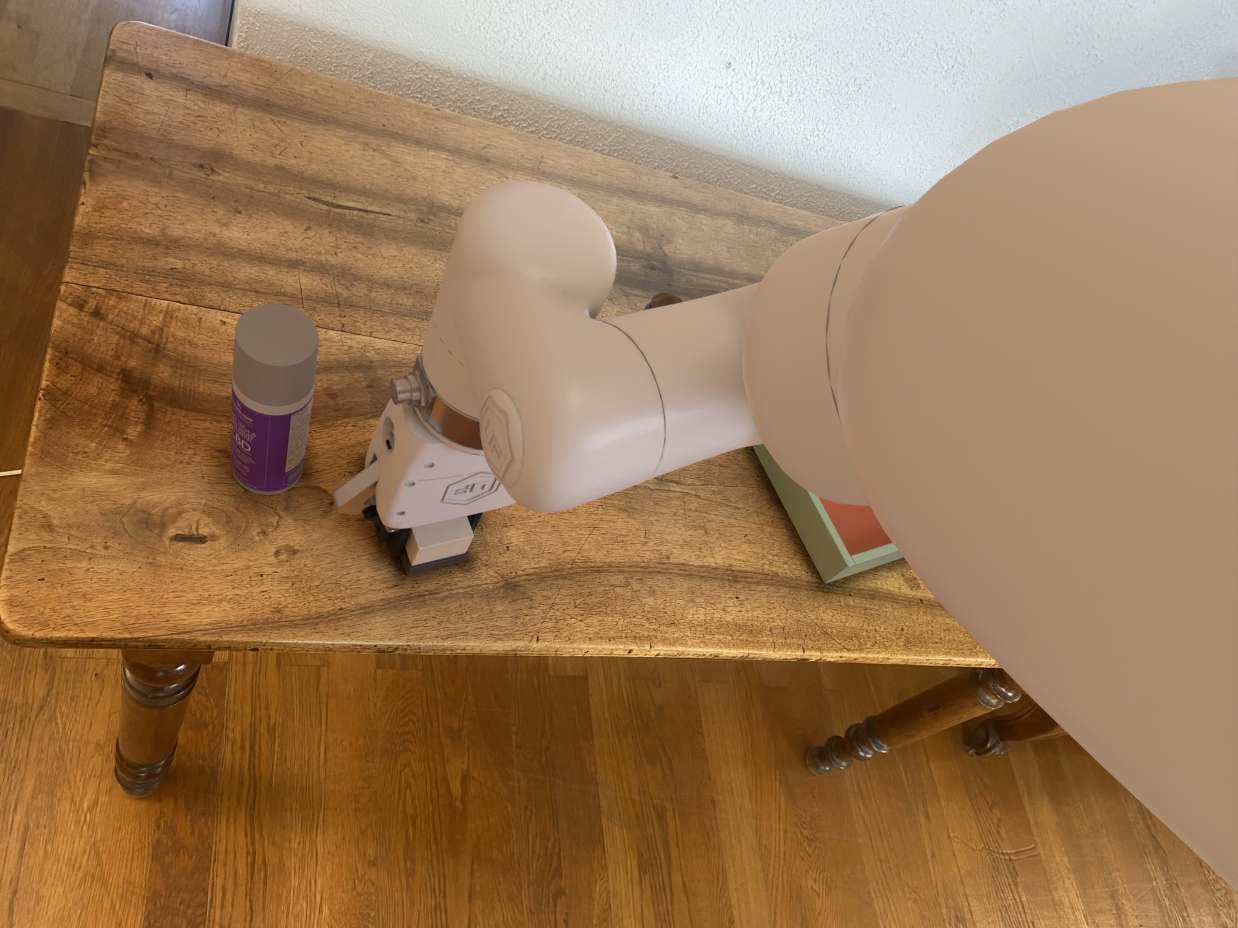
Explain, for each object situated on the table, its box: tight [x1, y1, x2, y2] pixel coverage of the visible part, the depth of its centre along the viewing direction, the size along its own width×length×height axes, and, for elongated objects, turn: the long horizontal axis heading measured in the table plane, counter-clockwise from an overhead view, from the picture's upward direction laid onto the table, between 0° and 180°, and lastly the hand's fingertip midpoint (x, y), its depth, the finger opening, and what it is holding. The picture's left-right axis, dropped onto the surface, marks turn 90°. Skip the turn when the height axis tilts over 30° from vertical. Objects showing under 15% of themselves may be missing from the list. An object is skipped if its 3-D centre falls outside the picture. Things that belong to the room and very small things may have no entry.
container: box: [230, 303, 320, 496], centre depth 55 cm, size 5×5×15 cm
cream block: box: [399, 516, 475, 577], centre depth 62 cm, size 9×4×4 cm, turn 24°
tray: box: [751, 444, 904, 584], centre depth 81 cm, size 14×26×4 cm, turn 24°
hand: (425, 528), depth 63 cm, fingers closed on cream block, 4 cm apart
